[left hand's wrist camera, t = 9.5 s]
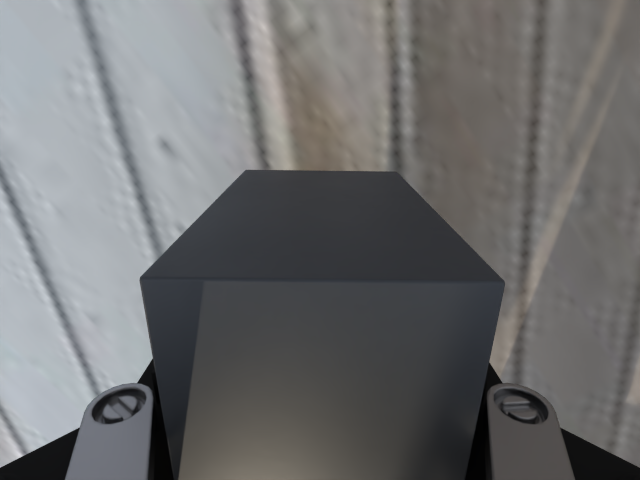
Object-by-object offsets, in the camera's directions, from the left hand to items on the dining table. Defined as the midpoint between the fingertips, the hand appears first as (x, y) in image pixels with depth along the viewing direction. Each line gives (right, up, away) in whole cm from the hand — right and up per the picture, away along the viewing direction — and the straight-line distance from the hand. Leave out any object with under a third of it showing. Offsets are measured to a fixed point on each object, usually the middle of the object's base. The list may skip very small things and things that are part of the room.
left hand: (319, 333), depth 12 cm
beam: (0, -33, +16) cm, 36 cm away
